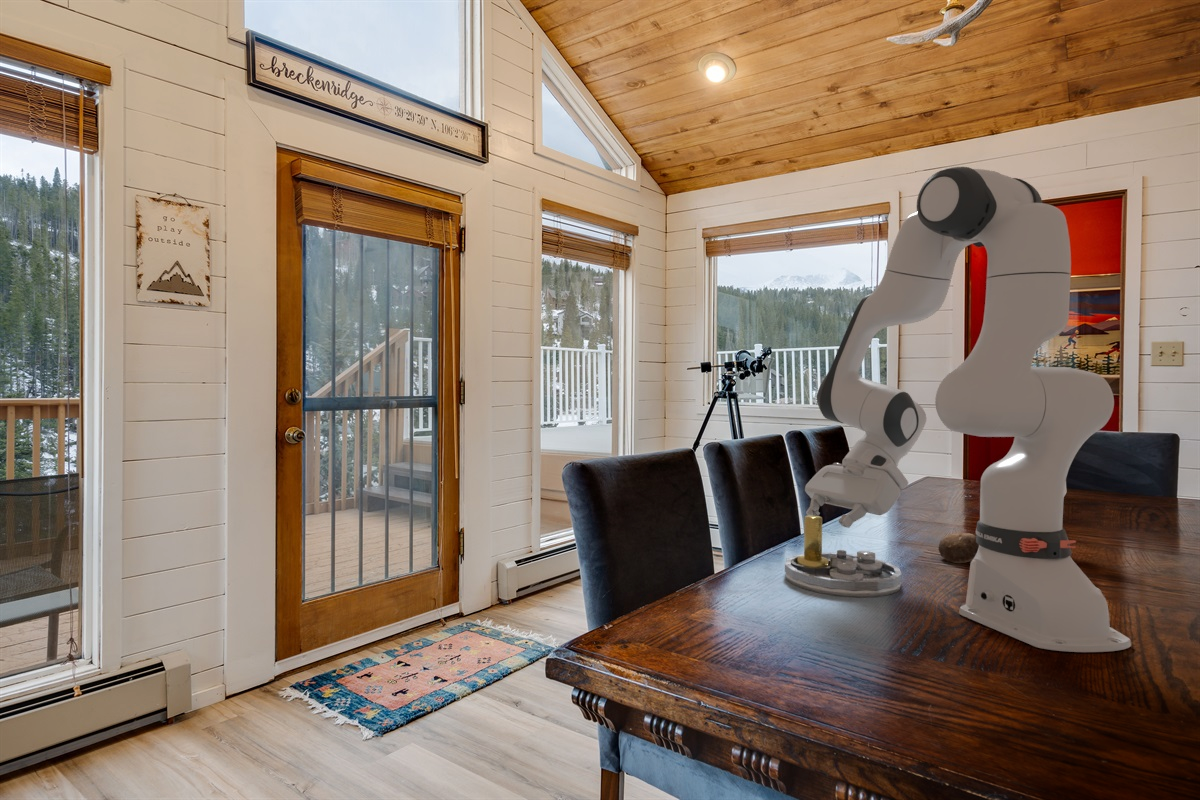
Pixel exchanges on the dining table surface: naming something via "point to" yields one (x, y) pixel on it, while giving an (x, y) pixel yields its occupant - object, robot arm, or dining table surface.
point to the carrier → (846, 575)
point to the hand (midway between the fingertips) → (826, 520)
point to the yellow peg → (813, 543)
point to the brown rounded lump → (958, 547)
